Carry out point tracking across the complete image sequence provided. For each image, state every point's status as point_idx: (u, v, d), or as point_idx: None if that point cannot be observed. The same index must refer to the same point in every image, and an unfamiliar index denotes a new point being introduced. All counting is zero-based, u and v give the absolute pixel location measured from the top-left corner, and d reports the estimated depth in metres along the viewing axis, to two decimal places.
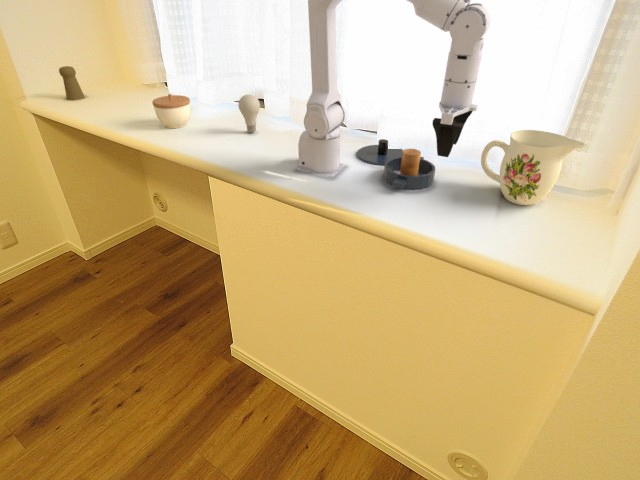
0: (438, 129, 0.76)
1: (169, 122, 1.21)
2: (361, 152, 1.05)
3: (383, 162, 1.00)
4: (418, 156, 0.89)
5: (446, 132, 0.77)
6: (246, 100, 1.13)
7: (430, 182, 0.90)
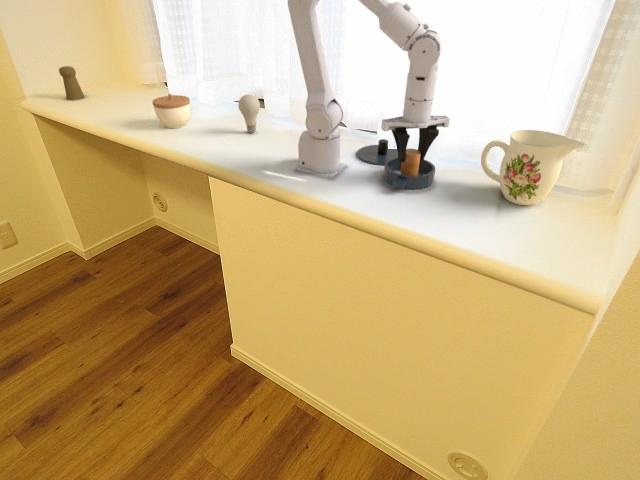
0: (393, 134, 0.88)
1: (169, 122, 1.21)
2: (361, 152, 1.05)
3: (383, 162, 1.00)
4: (418, 156, 0.89)
5: None
6: (246, 100, 1.13)
7: (430, 182, 0.90)
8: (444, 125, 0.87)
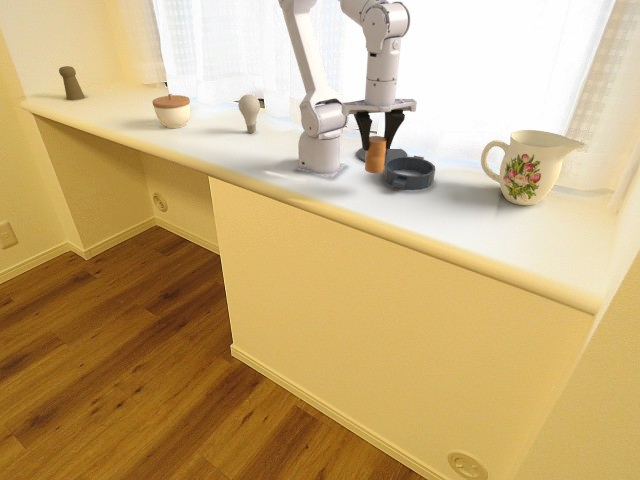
0: (356, 119, 0.80)
1: (169, 122, 1.21)
2: (361, 152, 1.05)
3: None
4: (383, 144, 0.81)
5: None
6: (246, 100, 1.13)
7: (430, 182, 0.90)
8: (411, 109, 0.79)
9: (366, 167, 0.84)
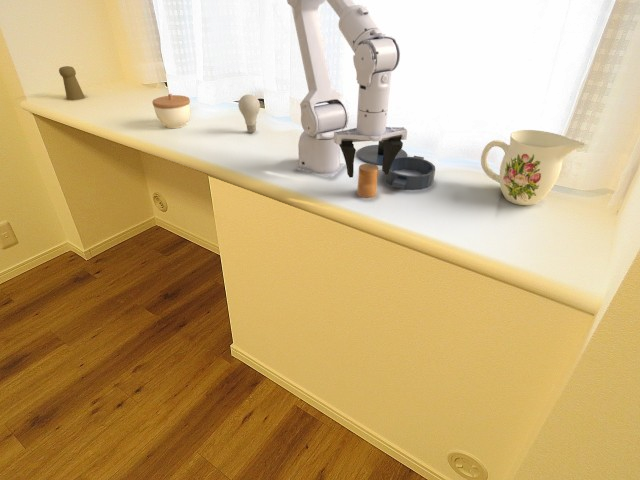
0: (340, 147, 0.82)
1: (169, 122, 1.21)
2: (361, 152, 1.05)
3: None
4: (375, 172, 0.83)
5: None
6: (246, 100, 1.13)
7: (430, 182, 0.90)
8: (402, 137, 0.81)
9: (358, 194, 0.86)
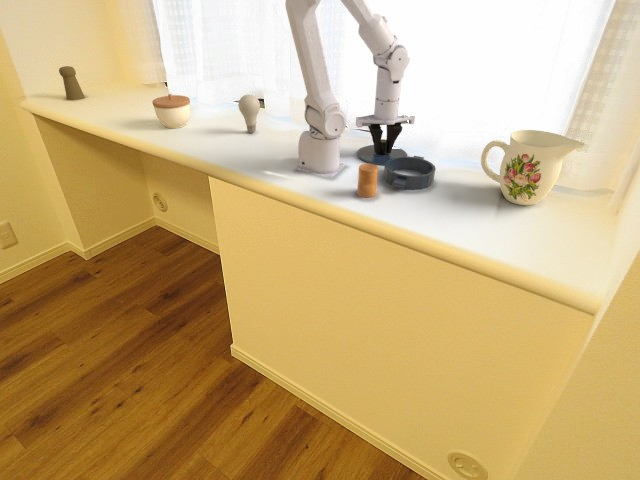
0: (369, 129, 1.02)
1: (169, 122, 1.21)
2: (361, 152, 1.05)
3: (383, 162, 1.00)
4: (375, 172, 0.83)
5: None
6: (246, 100, 1.13)
7: (430, 182, 0.90)
8: (410, 122, 1.00)
9: (358, 194, 0.86)
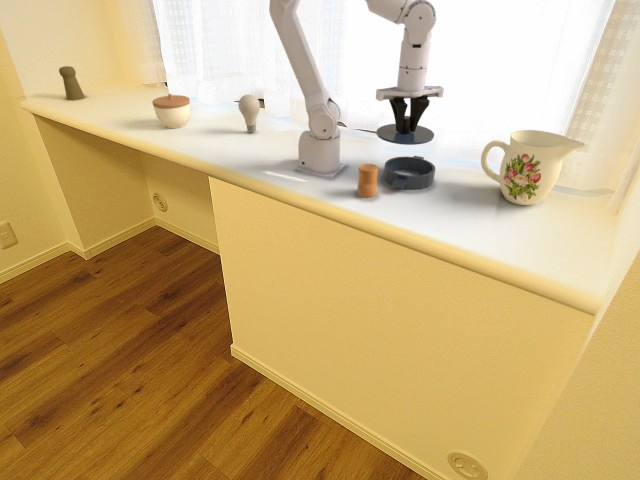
0: (391, 104, 0.88)
1: (169, 122, 1.21)
2: (380, 131, 0.92)
3: (407, 141, 0.87)
4: (375, 172, 0.83)
5: None
6: (246, 100, 1.13)
7: (430, 182, 0.90)
8: (438, 95, 0.87)
9: (358, 194, 0.86)
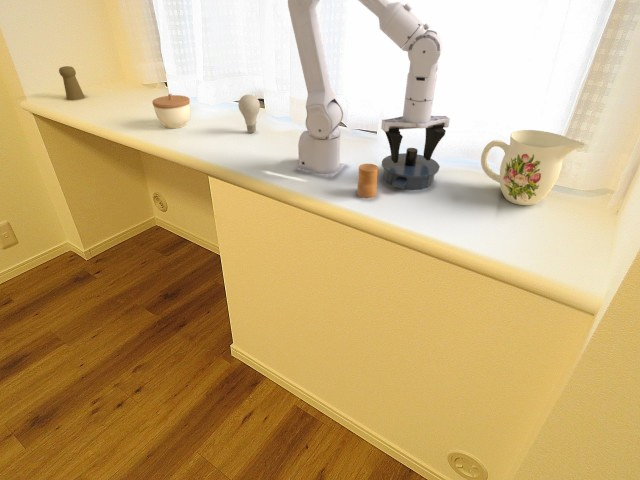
0: (386, 134, 0.88)
1: (169, 122, 1.21)
2: (385, 162, 0.92)
3: (413, 174, 0.87)
4: (375, 172, 0.83)
5: None
6: (246, 100, 1.13)
7: (430, 182, 0.90)
8: (444, 125, 0.87)
9: (358, 194, 0.86)
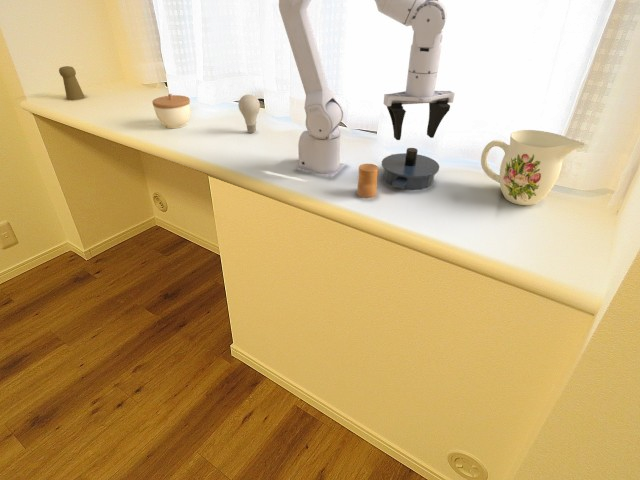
0: (389, 110, 0.85)
1: (169, 122, 1.21)
2: (385, 162, 0.92)
3: (413, 174, 0.87)
4: (375, 172, 0.83)
5: None
6: (246, 100, 1.13)
7: (430, 182, 0.90)
8: (448, 100, 0.84)
9: (358, 194, 0.86)
